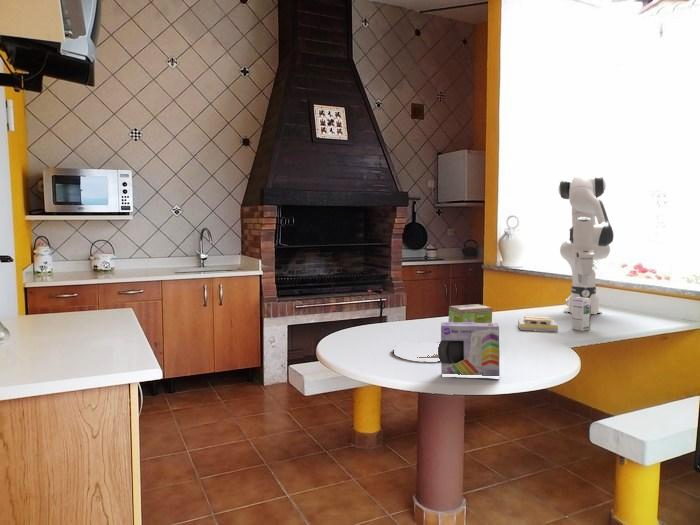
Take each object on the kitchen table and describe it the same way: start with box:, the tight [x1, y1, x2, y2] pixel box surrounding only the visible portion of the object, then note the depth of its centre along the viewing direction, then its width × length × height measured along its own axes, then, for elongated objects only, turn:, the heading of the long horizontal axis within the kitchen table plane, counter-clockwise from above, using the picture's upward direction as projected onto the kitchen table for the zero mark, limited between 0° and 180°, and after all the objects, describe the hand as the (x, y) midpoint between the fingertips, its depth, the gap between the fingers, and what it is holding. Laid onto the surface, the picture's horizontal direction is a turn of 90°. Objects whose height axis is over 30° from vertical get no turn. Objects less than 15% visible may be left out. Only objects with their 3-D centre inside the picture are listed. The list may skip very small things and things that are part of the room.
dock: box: [517, 318, 559, 333], centre depth 243 cm, size 12×16×3 cm
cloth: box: [523, 315, 553, 324], centre depth 243 cm, size 9×11×2 cm
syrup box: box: [571, 297, 592, 332], centre depth 241 cm, size 6×6×14 cm
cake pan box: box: [438, 321, 501, 377], centre depth 170 cm, size 19×5×18 cm, turn 78°
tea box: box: [448, 303, 493, 323], centre depth 219 cm, size 15×10×15 cm, turn 114°
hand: (582, 284), depth 239 cm, fingers open, 8 cm apart
